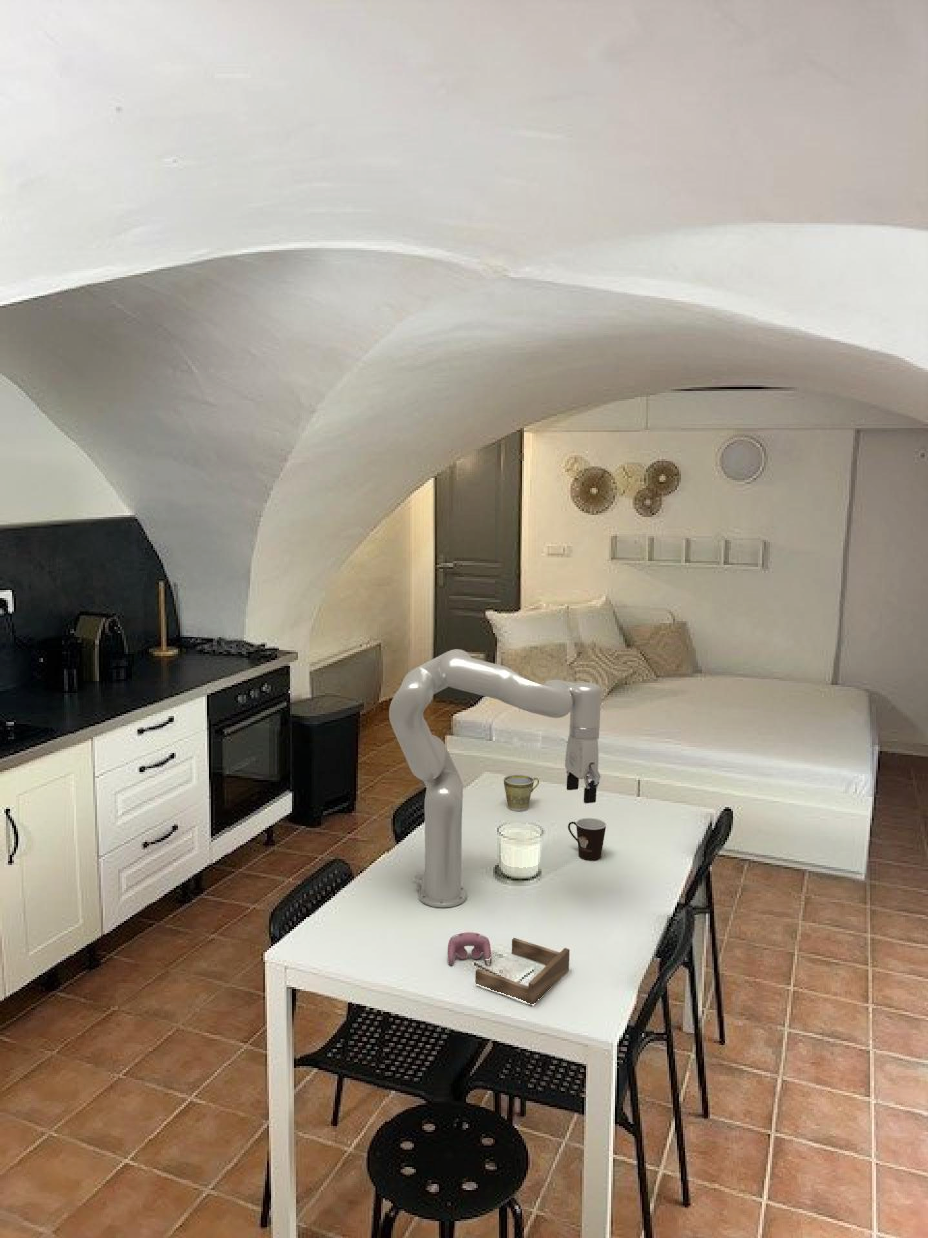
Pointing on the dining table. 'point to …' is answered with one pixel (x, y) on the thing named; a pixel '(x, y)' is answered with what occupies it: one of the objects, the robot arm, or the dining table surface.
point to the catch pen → (540, 982)
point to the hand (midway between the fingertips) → (580, 796)
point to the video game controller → (468, 939)
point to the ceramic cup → (519, 791)
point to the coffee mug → (589, 837)
